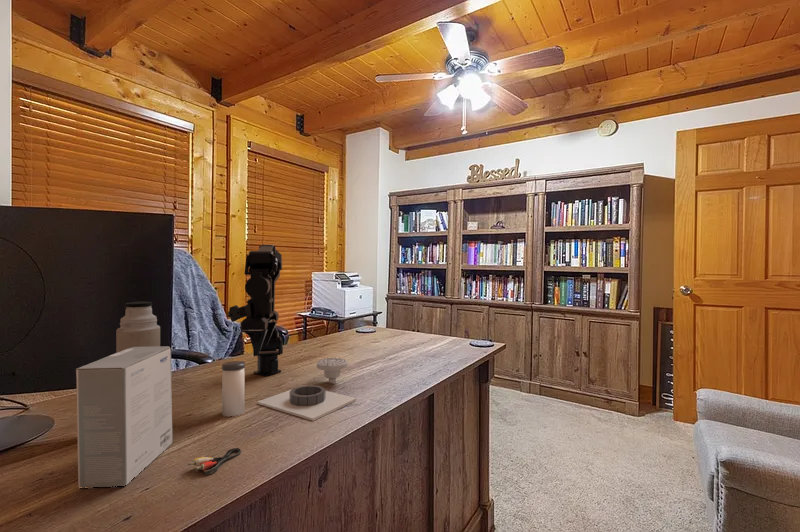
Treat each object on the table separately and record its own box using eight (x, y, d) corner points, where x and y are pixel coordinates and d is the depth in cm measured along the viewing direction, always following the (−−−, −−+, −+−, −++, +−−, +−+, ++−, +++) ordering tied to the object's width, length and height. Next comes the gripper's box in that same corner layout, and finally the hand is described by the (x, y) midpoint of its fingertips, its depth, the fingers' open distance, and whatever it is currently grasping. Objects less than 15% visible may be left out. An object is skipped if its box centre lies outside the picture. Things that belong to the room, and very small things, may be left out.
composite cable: (236, 451, 76) (236, 438, 76) (251, 458, 73) (251, 445, 73) (185, 473, 68) (185, 459, 68) (199, 482, 65) (199, 467, 65)
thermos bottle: (142, 419, 90) (143, 299, 90) (168, 424, 87) (168, 301, 87) (107, 433, 82) (107, 302, 82) (134, 439, 80) (134, 304, 79)
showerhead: (311, 362, 114) (322, 354, 124) (311, 387, 114) (321, 377, 124) (343, 363, 113) (350, 355, 123) (343, 388, 113) (350, 378, 123)
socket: (257, 403, 100) (257, 392, 100) (303, 387, 114) (303, 377, 114) (313, 421, 89) (313, 408, 89) (356, 400, 103) (356, 389, 103)
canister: (217, 413, 93) (217, 364, 93) (236, 407, 98) (236, 360, 98) (230, 418, 91) (230, 367, 91) (249, 411, 95) (249, 362, 95)
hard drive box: (133, 445, 77) (133, 346, 77) (173, 443, 78) (173, 345, 78) (74, 490, 62) (75, 366, 62) (125, 488, 62) (125, 366, 62)
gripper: (241, 292, 117) (241, 343, 117) (219, 298, 99) (219, 358, 99) (278, 292, 118) (278, 343, 119) (264, 298, 100) (264, 358, 100)
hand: (260, 350), depth 109 cm, fingers open, 9 cm apart
